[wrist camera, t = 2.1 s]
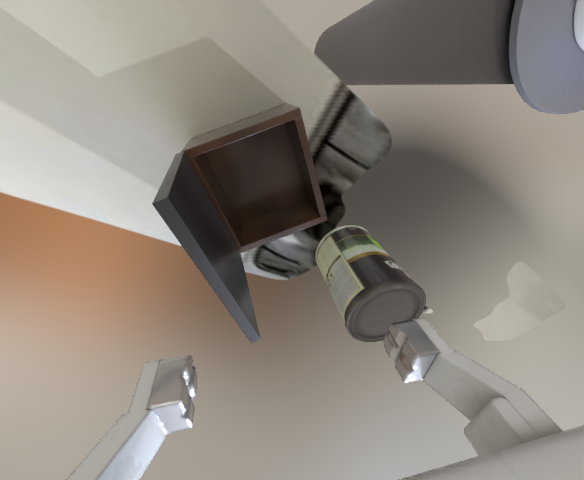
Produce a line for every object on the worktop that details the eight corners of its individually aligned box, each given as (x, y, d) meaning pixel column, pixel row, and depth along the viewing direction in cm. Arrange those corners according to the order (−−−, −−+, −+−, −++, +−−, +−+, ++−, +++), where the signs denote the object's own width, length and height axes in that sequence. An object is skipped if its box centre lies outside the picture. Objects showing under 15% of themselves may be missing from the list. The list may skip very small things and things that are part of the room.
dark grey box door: (167, 197, 12) (151, 203, 12) (260, 339, 19) (251, 343, 19) (184, 151, 22) (175, 154, 22) (240, 255, 29) (234, 257, 29)
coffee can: (354, 211, 38) (409, 268, 26) (381, 250, 43) (436, 311, 31) (302, 251, 40) (331, 320, 28) (334, 283, 45) (369, 352, 33)
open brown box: (286, 103, 28) (299, 107, 22) (312, 198, 35) (327, 220, 29) (191, 138, 28) (180, 151, 22) (236, 227, 35) (237, 254, 29)
